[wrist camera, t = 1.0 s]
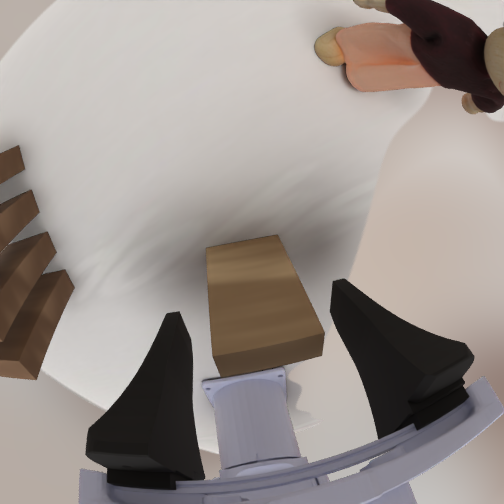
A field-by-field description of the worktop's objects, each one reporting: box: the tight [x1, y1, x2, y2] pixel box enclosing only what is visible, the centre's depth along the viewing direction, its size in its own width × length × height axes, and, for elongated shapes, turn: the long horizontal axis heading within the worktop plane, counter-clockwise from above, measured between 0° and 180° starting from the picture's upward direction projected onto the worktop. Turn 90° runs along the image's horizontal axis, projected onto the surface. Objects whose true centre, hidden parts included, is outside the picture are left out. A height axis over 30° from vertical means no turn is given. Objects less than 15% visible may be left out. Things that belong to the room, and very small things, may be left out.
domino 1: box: [206, 235, 325, 377], centre depth 14 cm, size 2×4×8 cm, turn 97°
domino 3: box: [0, 232, 57, 342], centre depth 11 cm, size 2×4×8 cm, turn 97°
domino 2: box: [0, 270, 74, 380], centre depth 13 cm, size 2×4×8 cm, turn 97°
